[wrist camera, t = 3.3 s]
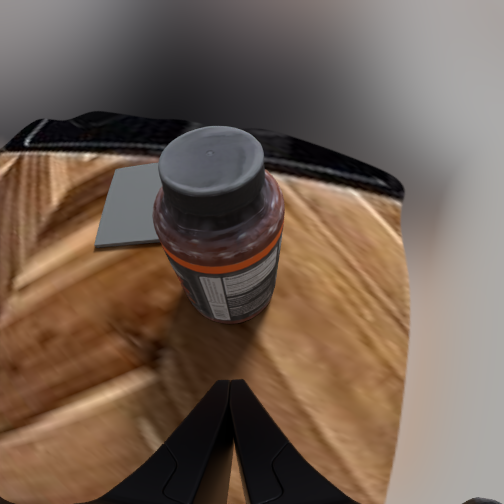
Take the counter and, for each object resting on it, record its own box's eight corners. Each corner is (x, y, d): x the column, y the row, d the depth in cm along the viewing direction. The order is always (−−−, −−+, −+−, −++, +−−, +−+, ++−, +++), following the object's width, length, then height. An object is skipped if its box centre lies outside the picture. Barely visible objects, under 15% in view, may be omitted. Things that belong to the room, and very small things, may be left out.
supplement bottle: (178, 263, 21) (128, 134, 11) (255, 238, 22) (255, 101, 12) (201, 339, 18) (141, 238, 8) (288, 308, 19) (321, 184, 9)
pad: (268, 233, 22) (268, 230, 22) (96, 247, 22) (94, 245, 21) (257, 156, 27) (257, 153, 26) (117, 172, 26) (115, 169, 26)
